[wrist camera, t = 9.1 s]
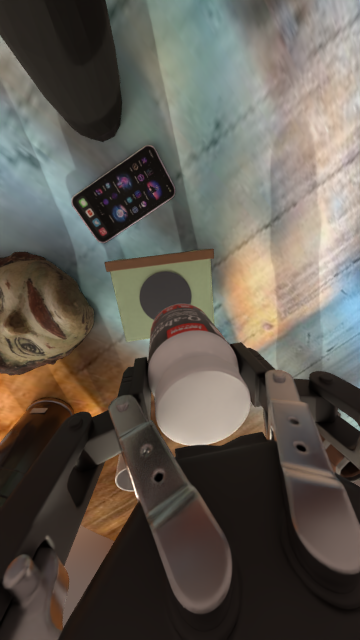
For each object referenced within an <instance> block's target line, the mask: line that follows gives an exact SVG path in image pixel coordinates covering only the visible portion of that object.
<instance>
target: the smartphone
mask: <svg viewBox="0 0 360 640" xmlns="http://www.w3.org/2000/svg"><path fill="white" fill-rule="evenodd" d="M174 195H175V187H174V185H173V183H172V181H171V179H170V177H169V175H168V173H167V171H166V169H165V167H164V165H163V163H162V161H161V159H160V157H159V155H158V153H157V151H156V149H155V148H154V147H153V146H151V145H146V146H144V147H143V148H141V149H140V150H139V151H137V152H136V153H134V154H133V155H131V156H130V157H129V158H127V159H126V160H124V161H123V162H121V163H120V164H119V165H117V166H116V167H114V168H113V169H111V170H110V171H109V172H107V173H106V174H104V175H103V176H101V177H100V178H99V179H97V180H96V181H94V182H93V183H91V184H90V185H89V186H87V187H86V188H84V189H83V190H81V191H80V192H79V193H77V194H76V195H74V196H73V197H72V206H73V207H74V209H75V210H76V212H77V213H78V214H79V216H80V217H81V219H82V220H83V222H84V223H85V224H86V226H87V227H88V229H89V230H90V231H91V233H92V234H93V236H94V237H95V238H96V240H97V241H98V242H101V243H106V242H108V241H109V240H111V239H112V238H114V237H115V236H117V235H118V234H120V233H121V232H123V231H124V230H126V229H127V228H129V227H130V226H132V225H133V224H135V223H136V222H138V221H139V220H141V219H142V218H144V217H145V216H147V215H148V214H150V213H151V212H153V211H154V210H156V209H157V208H159V207H160V206H162V205H163V204H165V203H166V202H168V201H169V200H170V199H172V198H173V197H174Z"/></svg>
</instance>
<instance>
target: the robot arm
mask: <svg viewBox="0 0 360 640" xmlns="http://www.w3.org/2000/svg"><path fill="white" fill-rule="evenodd" d="M230 346H231V348H232V349H233V351H234V353H235V355H236V357H237V360H238V366H239V374H240V376H241V377H242V379H243V380H244V382H245V384H246V385H247V387H248V390H249V393H250V398H251V402H252V404H253V405H254V407H259V406H262V407H263V408H264V409H263V416H264V426H265V436H266V437H265V436H264V434H263V432H259V433H254V434H249V435H244V436H240V437H238V438H236V439H234V440H232V441H230V442H228V443H226V444H224V445H222V446H212V445H193V446H188V447H182V448H177V449H175V454H176V457H175V458H174V456H173V454H172V453H171V451H170V449H169V448H168V446H167V444H166V443H165V441H164V439H163V438H162V436H161V434H160V433H159V431H158V429H157V428H156V426H155V424H154V423H153V421H152V420H150V416H151V389H150V386H149V383H148V361H147V357H143V358H137V359H135V363H134V367H128V368H127V369H126V370H125V372H124V374H123V379H122V381H121V385H120V389H119V393H118V397H117V398H116V399H114V400H113V401H112V402H111V404H110V405H109V408H108V410H107V411H105V412H103V413H101V414H99V415H96V416H94V417H91V414H90V413H88V412H79V413H76V414H74V411H73V409H72V408H71V407H70V406H69V405H68V404H67V403H66V402H64V401H62V400H59V399H56V398H42V399H39V400H36V401H35V402H33V403H32V404H31V405H30V406H29V407H28V409H27V410H26V412H25V413H24V414H23V416H22V417H21V418H20V419H19V420H18V422H17V423H16V424H15V425H14V426H13V428H12V429H11V430H10V431H9V433H8V434H7V435H6V436H5V437H4V439H3V440H2V441H1V442H0V640H360V487H359V486H357V485H356V484H354V483H352V482H351V481H349V480H347V479H346V478H344V477H342V476H341V475H339V474H337V473H335V472H334V471H333V468H332V465H331V463H330V460H329V458H328V455H327V452H326V450H325V447H324V445H323V442H322V439H321V437H320V435H321V436H323V437H324V438H325V439H326V440H327V441H328V442H329V443H330V444H332V445H333V446H334V447H335V448H336V449H337V450H338V451H339V452H340V453H342V454H343V455H344V456H345V457H346V458H347V459H348V460H349V461H351V462H352V463H353V464H354V465H355V466H356V467H357V468H358V469H360V431H358V430H357V429H356V428H354V427H353V426H352V425H350V424H349V423H348V422H346V421H345V420H343V419H342V418H341V417H339V416H338V415H337V412H338V409H340V410H341V411H343V412H344V413H346V414H347V415H349V416H350V417H351V418H353V419H354V420H355V421H356V422H357V423H358V425H359V426H360V389H359V388H357V387H355V386H354V385H352V384H350V383H348V382H346V381H345V380H343V379H341V378H339V377H337V376H335V375H333V374H331V373H328V372H322V371H316V372H312V373H311V374H310V377H309V380H306V379H294V378H293V377H292V376H291V375H290V374H289V373H287V372H285V371H282V370H275V369H274V368H273V367H272V366H271V365H270V364H269V363H268V362H267V361H266V360H264V358H263V357H262V356H261V355H260V354H259V353H258V352H257V351H255V350H253V349H251V348H246V347H245V346H244V345H243V344H242V343H241V342H240V343H233V344H230ZM120 453H122V456H123V459H124V462H125V465H126V468H127V471H128V474H129V477H130V480H131V483H132V486H133V489H134V492H135V496H136V499H137V502H138V503H137V505H136V506H135V508H134V510H133V511H132V513H131V515H130V517H129V518H128V520H127V522H126V523H125V525H124V527H123V528H122V530H121V532H120V533H119V535H118V537H117V538H116V540H115V542H114V543H113V545H112V547H111V549H110V550H109V552H108V554H107V555H106V557H105V559H104V560H103V562H102V564H101V565H100V567H99V569H98V570H97V572H96V574H95V576H94V577H93V579H92V580H91V582H90V584H89V585H88V587H87V589H86V591H85V592H84V594H83V596H82V597H81V599H80V601H79V602H78V604H77V606H76V607H75V609H74V611H73V612H72V614H71V616H70V618H69V619H68V621H67V623H66V625H65V626H64V628H63V625H62V624H63V623H62V621H63V620H62V619H63V611H64V606H65V602H66V598H67V594H68V589H69V576H68V573H67V571H66V569H65V567H64V565H65V562H66V560H67V557H68V555H69V552H70V549H71V547H72V544H73V542H74V539H75V537H76V534H77V532H78V529H79V526H80V524H81V522H82V519H83V516H84V514H85V511H86V509H87V506H88V504H89V501H90V499H91V496H92V494H93V491H94V488H95V486H96V483H97V481H98V478H99V476H100V473H101V471H102V468H103V466H104V463H105V461H106V460H108V459H110V458H112V457H114V456H116V455H118V454H120Z"/></svg>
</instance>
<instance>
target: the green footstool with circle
mask: <svg viewBox="0 0 360 640" xmlns="http://www.w3.org/2000/svg"><path fill="white" fill-rule="evenodd" d="M212 258H214V249H201V250H192V251H188V252H180V253H172V254H164V255H156V256H148V257H139V258H131V259H118V260H113V261H108V262H105V267H106V271H107V272H110V273H111V278H112V282H113V286H114V291H115V295H116V299H117V304H118V308H119V312H120V316H121V321H122V325H123V329H124V334H125V338H126V342H129V341H135V340H142V339H148V338H150V332H151V327H152V324H153V321H154V320H155V318H156V317H157V315H158V314H159V313H160V312H161V311H162V310H164V309H165V308H167V307H169V306H172V305H175V304H190V305H193V306H195V307H197V308H199V309H200V310H202V311H203V312H204V313H205V314H206V315H207V316H208V318H209V319H210V320H211V322H212V323H213V324H214V311H213V294H212V277H211V260H210V259H212Z"/></svg>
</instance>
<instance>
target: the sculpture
mask: <svg viewBox="0 0 360 640" xmlns="http://www.w3.org/2000/svg"><path fill="white" fill-rule="evenodd" d="M93 324H94V310H93V308H92V307H90V305H89V304H88V302H87V300H86V299H85V297H84V295H83V294H82V293H81V292H80V290H79V286H78V284H77V282H76V281H75V280H74V279H73V278H72V277H70V276H69V275H67V274H66V273H64V272H63V271H62V270H61V269H59V268H58V267H57V266H56V265H54V264H53V263H51V262H49V261H47V260H46V259H45V258H44V257H41V256H38V255H32V254H30V253H28V252H14V253H13V254H12V255H11V256H8V257H5V258H0V373H6V374H9V375H15V374H16V375H20V374H24V373H26V372H28V371H30V370H33V369H34V368H36V367H39V366H42V365H46V364H55V363H56V361H57V360H58V359H62V358H63V357H65V356H67V355H69V354H70V353H71V351H72V350H73V349H74V348H75V347H77V346H78V345H79V344H80V343H81V342H82V341H83V339H84V337H85V336H87V334H88V333H89V331H90V330H91V328H92V326H93Z"/></svg>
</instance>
